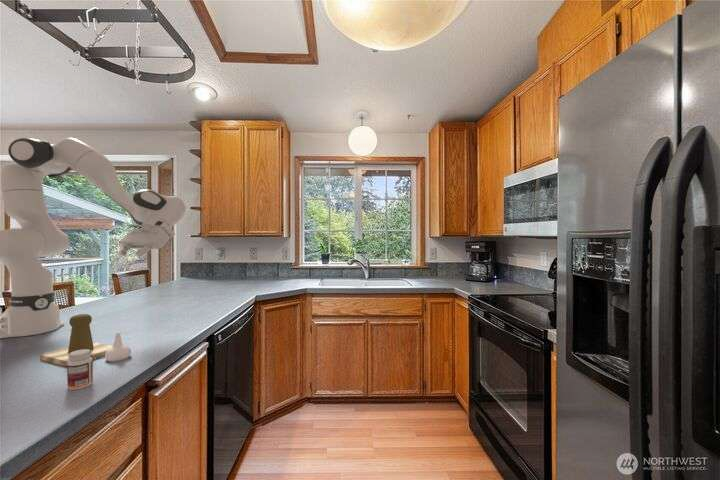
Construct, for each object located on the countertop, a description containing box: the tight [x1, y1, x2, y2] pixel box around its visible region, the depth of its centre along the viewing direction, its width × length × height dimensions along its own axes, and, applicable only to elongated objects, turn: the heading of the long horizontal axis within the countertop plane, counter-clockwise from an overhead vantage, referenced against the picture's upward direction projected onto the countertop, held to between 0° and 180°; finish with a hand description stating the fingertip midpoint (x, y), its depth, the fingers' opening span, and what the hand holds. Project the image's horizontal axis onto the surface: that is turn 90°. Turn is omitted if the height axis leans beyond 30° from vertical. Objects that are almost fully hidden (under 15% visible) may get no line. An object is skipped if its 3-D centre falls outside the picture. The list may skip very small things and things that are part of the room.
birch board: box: [40, 341, 113, 367], centre depth 100 cm, size 14×13×2 cm
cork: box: [68, 313, 94, 354], centre depth 100 cm, size 6×6×11 cm
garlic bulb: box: [104, 331, 132, 363], centre depth 98 cm, size 6×6×8 cm
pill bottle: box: [66, 349, 94, 391], centre depth 80 cm, size 5×5×8 cm
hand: (129, 255), depth 120 cm, fingers open, 8 cm apart
